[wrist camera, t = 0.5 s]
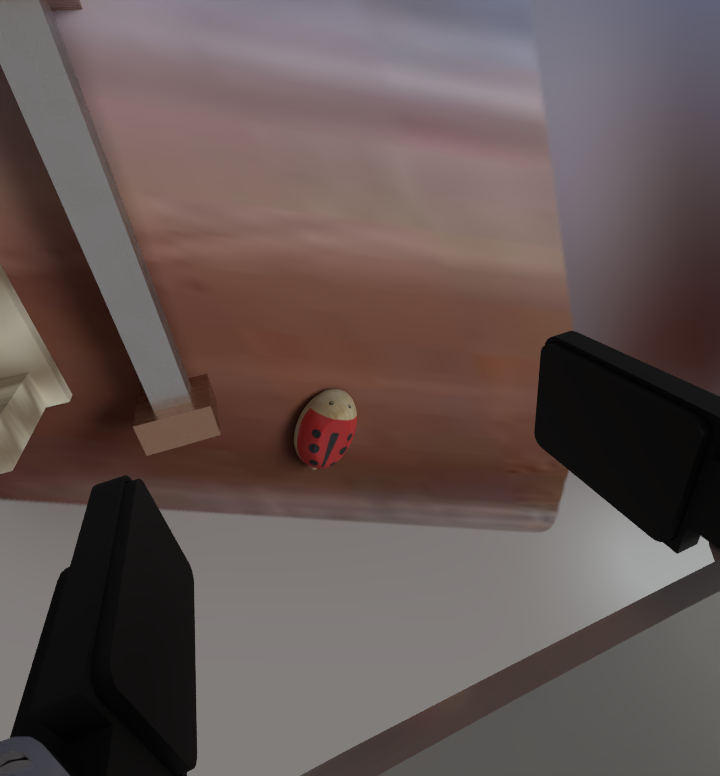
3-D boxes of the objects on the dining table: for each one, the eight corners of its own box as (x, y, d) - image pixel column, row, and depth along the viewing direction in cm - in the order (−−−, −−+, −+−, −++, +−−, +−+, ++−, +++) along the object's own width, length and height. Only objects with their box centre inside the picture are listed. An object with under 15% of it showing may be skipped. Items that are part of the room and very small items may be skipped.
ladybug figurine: (362, 388, 47) (374, 404, 44) (339, 461, 51) (349, 481, 48) (304, 382, 44) (312, 399, 41) (284, 460, 48) (291, 481, 45)
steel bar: (-62, -57, 23) (-128, -110, 18) (59, -59, 25) (28, -109, 20) (151, 417, 40) (146, 455, 35) (216, 400, 42) (220, 434, 37)
